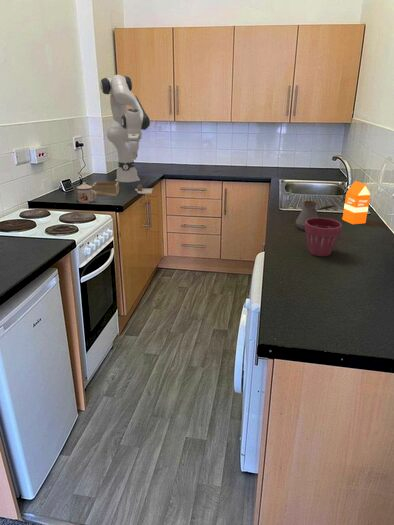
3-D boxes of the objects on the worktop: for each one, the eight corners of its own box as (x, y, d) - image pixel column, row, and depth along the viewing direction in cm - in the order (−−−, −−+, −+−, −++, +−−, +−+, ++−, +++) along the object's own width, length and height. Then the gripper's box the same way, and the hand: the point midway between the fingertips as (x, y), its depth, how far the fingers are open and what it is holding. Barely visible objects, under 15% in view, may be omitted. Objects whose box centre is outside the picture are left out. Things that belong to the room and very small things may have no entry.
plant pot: (336, 261, 152) (341, 229, 147) (299, 255, 157) (303, 225, 152) (338, 248, 164) (343, 219, 159) (304, 244, 169) (307, 215, 164)
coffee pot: (290, 226, 192) (293, 196, 186) (308, 223, 197) (311, 194, 191) (320, 239, 175) (325, 207, 169) (339, 236, 179) (344, 204, 174)
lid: (129, 190, 269) (128, 182, 267) (152, 189, 270) (152, 182, 268) (127, 194, 256) (126, 187, 254) (151, 194, 257) (151, 186, 255)
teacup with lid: (75, 203, 233) (72, 183, 228) (83, 199, 241) (81, 180, 236) (92, 204, 229) (90, 185, 225) (100, 201, 237) (99, 182, 233)
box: (96, 192, 258) (95, 182, 256) (119, 192, 259) (118, 181, 257) (92, 197, 247) (91, 186, 244) (116, 196, 247) (115, 185, 245)
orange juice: (352, 224, 196) (359, 184, 188) (341, 219, 204) (347, 181, 196) (365, 223, 198) (372, 183, 190) (354, 218, 206) (361, 180, 198)
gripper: (130, 134, 258) (131, 155, 264) (127, 137, 240) (129, 160, 245) (140, 134, 259) (141, 155, 264) (138, 137, 240) (139, 160, 246)
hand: (135, 158), depth 255 cm, fingers open, 8 cm apart
